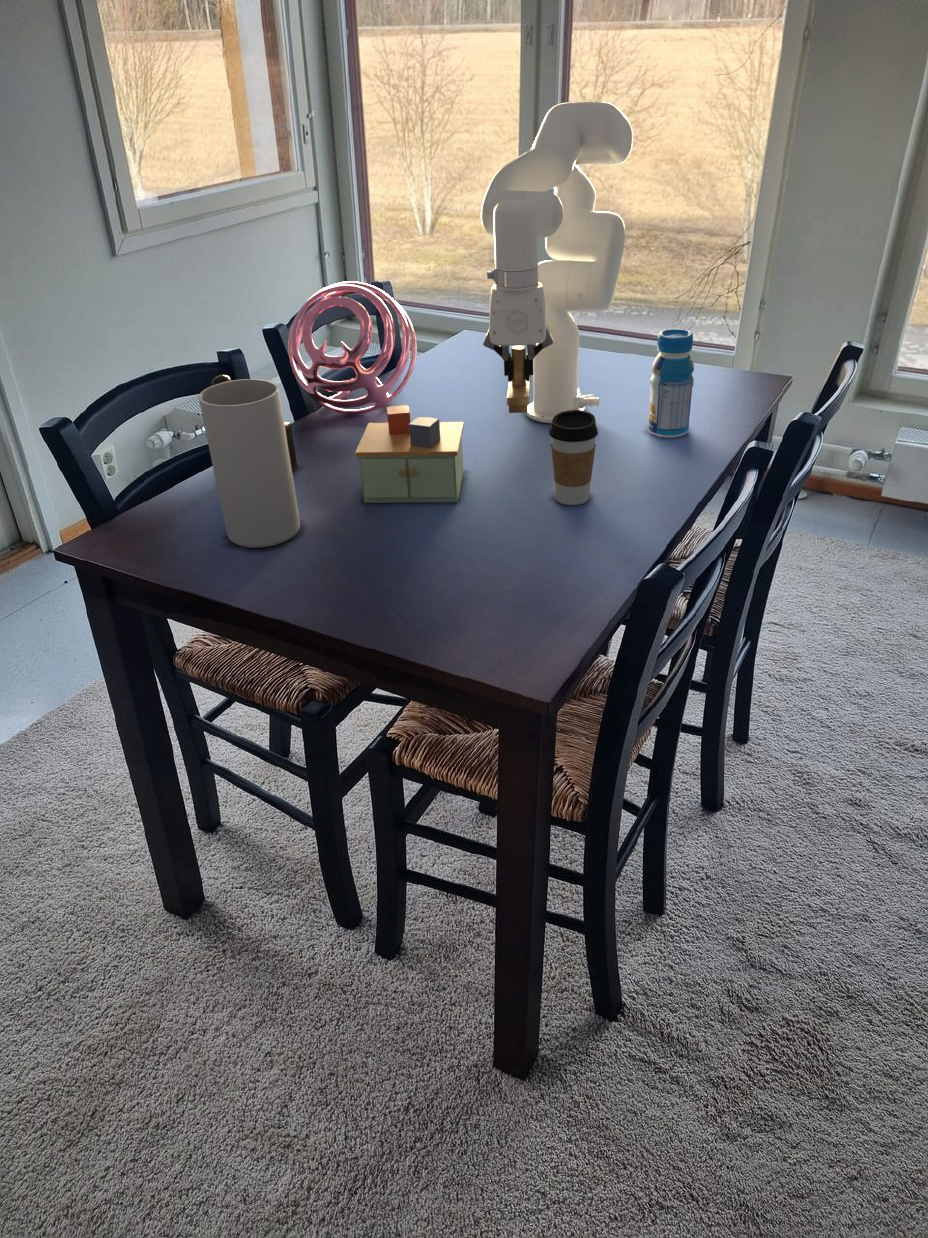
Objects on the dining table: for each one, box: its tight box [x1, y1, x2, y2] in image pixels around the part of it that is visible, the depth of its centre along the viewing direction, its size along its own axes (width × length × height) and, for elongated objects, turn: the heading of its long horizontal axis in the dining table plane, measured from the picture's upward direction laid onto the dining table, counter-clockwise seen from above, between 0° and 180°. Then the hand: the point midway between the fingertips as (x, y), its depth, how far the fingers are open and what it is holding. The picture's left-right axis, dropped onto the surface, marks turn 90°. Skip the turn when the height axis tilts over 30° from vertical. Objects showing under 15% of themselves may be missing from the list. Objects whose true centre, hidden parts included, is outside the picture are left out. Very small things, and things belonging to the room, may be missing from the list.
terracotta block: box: [385, 404, 412, 435], centre depth 170 cm, size 4×4×4 cm
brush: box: [506, 345, 532, 414], centre depth 173 cm, size 4×13×10 cm, turn 175°
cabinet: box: [354, 421, 465, 504], centre depth 171 cm, size 18×15×10 cm
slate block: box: [409, 415, 441, 448], centre depth 165 cm, size 4×4×4 cm
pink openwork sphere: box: [287, 281, 418, 415], centre depth 205 cm, size 28×28×27 cm
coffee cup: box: [548, 410, 599, 506], centre depth 163 cm, size 8×8×15 cm
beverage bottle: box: [647, 328, 695, 439], centre depth 186 cm, size 8×8×20 cm
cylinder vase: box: [198, 378, 301, 549], centre depth 154 cm, size 12×12×25 cm
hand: (518, 378), depth 174 cm, fingers closed on brush, 2 cm apart
